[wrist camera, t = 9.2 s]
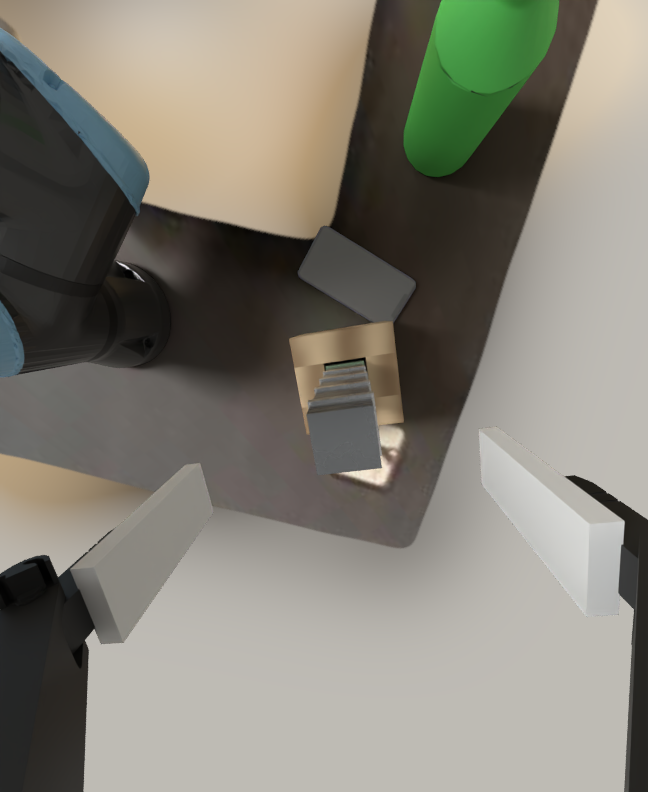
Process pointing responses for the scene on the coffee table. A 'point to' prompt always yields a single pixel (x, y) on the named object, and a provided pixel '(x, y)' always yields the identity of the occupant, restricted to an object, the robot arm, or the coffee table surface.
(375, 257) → the smartphone
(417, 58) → the coffee table surface
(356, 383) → the column
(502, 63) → the bottle
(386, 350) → the housing
